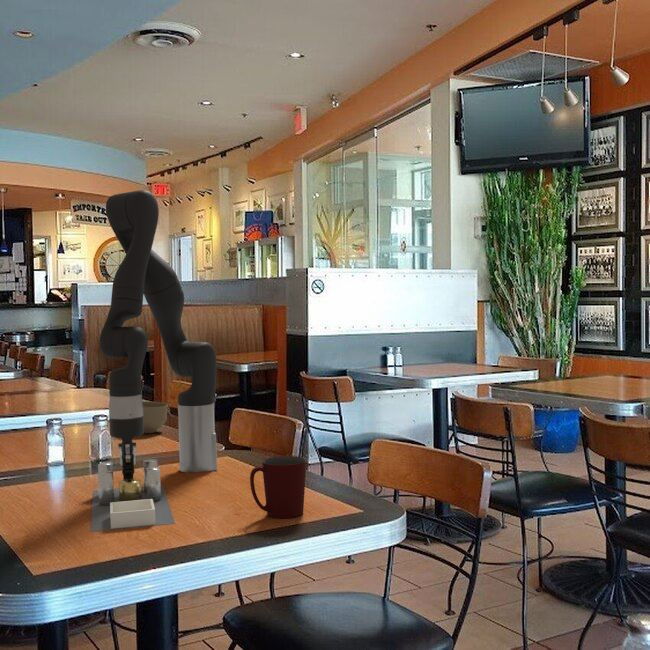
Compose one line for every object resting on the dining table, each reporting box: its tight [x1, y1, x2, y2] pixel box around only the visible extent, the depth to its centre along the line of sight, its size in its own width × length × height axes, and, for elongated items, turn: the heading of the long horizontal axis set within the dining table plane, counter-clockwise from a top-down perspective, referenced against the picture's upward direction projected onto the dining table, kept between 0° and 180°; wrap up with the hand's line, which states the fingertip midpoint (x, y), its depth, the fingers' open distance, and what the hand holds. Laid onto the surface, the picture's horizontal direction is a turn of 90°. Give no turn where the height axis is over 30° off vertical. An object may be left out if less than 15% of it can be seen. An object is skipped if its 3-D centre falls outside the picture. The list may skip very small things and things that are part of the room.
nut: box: [118, 478, 142, 501], centre depth 179 cm, size 5×5×4 cm
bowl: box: [142, 400, 169, 434], centre depth 268 cm, size 13×13×10 cm
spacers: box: [97, 458, 162, 506], centre depth 181 cm, size 13×12×7 cm
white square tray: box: [110, 499, 155, 529], centre depth 162 cm, size 8×8×3 cm
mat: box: [90, 484, 176, 533], centre depth 173 cm, size 16×34×1 cm, turn 15°
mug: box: [249, 455, 307, 519], centre depth 165 cm, size 12×9×11 cm
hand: (128, 490), depth 184 cm, fingers closed
